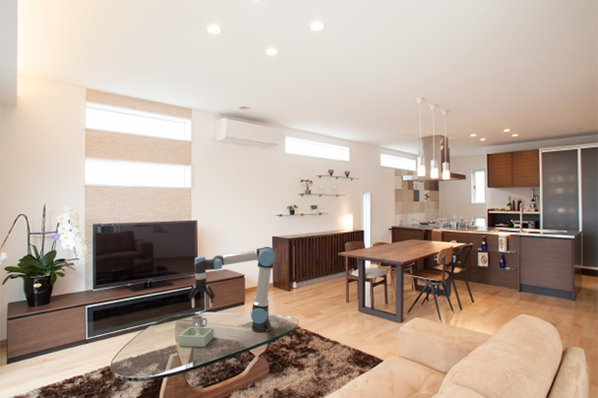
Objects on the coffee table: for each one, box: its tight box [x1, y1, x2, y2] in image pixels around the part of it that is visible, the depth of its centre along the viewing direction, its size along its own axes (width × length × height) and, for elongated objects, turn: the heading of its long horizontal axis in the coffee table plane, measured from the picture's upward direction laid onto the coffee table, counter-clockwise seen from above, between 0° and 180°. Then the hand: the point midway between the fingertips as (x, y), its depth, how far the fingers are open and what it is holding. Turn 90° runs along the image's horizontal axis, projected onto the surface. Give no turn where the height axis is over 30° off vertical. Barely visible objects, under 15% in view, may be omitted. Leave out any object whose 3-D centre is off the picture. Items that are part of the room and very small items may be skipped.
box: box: [177, 326, 215, 348], centre depth 238 cm, size 19×16×7 cm
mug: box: [190, 315, 208, 328], centre depth 257 cm, size 12×8×11 cm
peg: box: [195, 323, 200, 336], centre depth 240 cm, size 3×3×12 cm
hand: (202, 307), depth 243 cm, fingers open, 13 cm apart
